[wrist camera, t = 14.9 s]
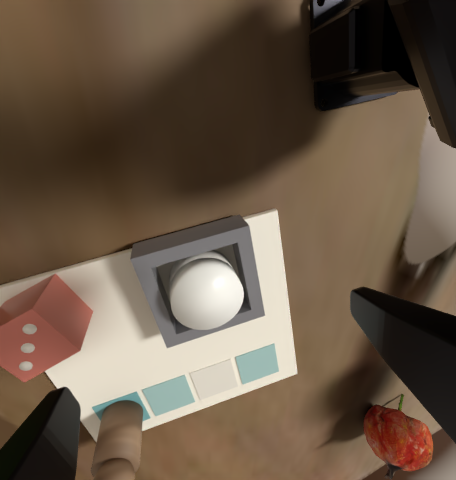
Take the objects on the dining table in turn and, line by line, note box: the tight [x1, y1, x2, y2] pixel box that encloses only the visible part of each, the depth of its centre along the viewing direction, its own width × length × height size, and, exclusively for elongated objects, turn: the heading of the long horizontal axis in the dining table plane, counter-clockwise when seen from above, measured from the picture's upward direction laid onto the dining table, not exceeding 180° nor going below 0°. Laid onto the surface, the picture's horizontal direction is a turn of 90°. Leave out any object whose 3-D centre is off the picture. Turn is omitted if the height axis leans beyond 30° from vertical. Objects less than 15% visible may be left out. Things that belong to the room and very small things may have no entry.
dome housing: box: [130, 215, 265, 348], centre depth 21 cm, size 8×8×2 cm
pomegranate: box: [364, 394, 433, 479], centre depth 34 cm, size 7×7×10 cm
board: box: [0, 208, 297, 443], centre depth 24 cm, size 21×19×1 cm
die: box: [0, 273, 93, 383], centre depth 18 cm, size 4×4×4 cm
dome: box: [169, 250, 244, 330], centre depth 20 cm, size 5×5×3 cm
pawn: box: [91, 400, 143, 480], centre depth 22 cm, size 4×4×7 cm
